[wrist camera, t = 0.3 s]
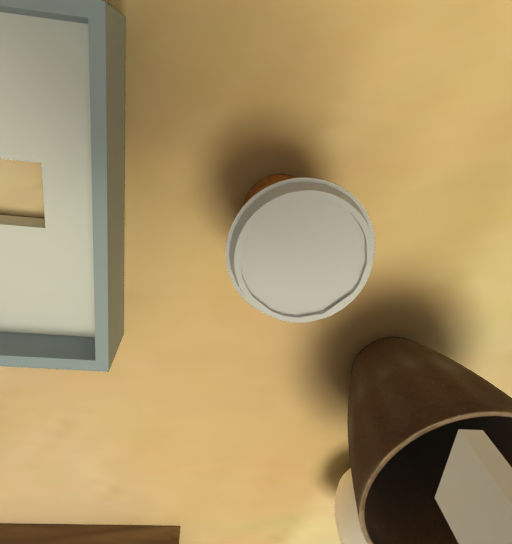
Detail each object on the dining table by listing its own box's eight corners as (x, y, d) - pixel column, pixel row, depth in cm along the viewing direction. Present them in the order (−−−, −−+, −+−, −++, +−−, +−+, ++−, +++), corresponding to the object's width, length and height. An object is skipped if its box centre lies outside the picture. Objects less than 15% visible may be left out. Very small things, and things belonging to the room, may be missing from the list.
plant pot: (283, 381, 44) (314, 525, 30) (385, 272, 41) (479, 374, 26) (386, 447, 49) (458, 601, 34) (487, 352, 45) (618, 480, 30)
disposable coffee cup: (233, 270, 40) (239, 340, 28) (215, 163, 36) (213, 195, 25) (338, 254, 40) (384, 316, 29) (330, 145, 36) (379, 169, 25)
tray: (-118, -17, 30) (-195, -42, 24) (125, 17, 32) (105, 1, 26) (-61, 322, 39) (-107, 360, 34) (123, 334, 41) (108, 371, 36)
